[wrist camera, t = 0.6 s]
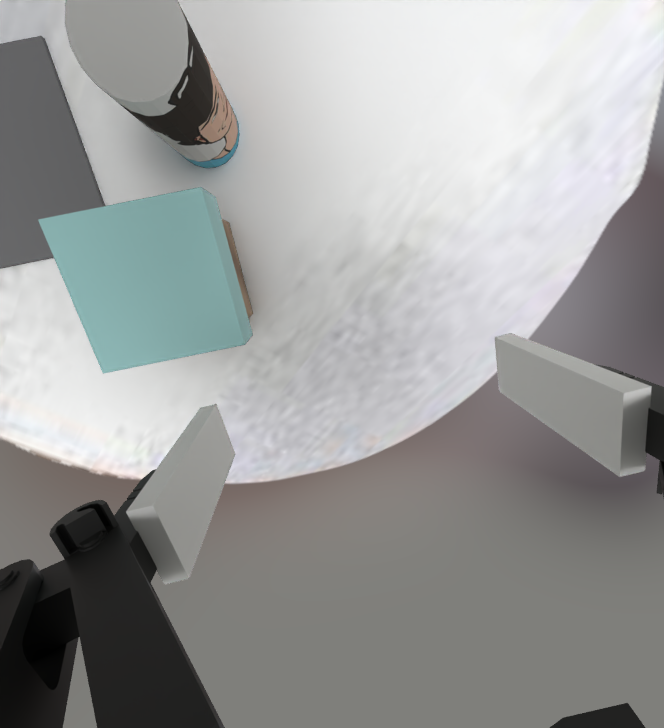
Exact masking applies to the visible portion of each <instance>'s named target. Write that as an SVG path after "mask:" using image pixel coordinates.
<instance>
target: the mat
mask: <svg viewBox="0 0 664 728" xmlns="http://www.w3.org/2000/svg"><path fill="white" fill-rule="evenodd" d="M104 206H105V204H104V202H103V199H102V196H101V193H100V191H99V188H98V185H97V182H96V180H95V177H94V174H93V171H92V169H91V166H90V163H89V160H88V158H87V155H86V152H85V149H84V147H83V144H82V141H81V138H80V136H79V133H78V130H77V127H76V124H75V122H74V119H73V116H72V113H71V111H70V108H69V105H68V102H67V100H66V97H65V94H64V91H63V89H62V86H61V83H60V80H59V78H58V75H57V72H56V69H55V67H54V64H53V61H52V58H51V56H50V53H49V50H48V47H47V45H46V42H45V39H44V38H43V37H42V36H38V37H33V38H28V39H23V40H18V41H13V42H8V43H3V44H0V268H4V267H9V266H14V265H19V264H24V263H29V262H34V261H39V260H44V259H49V258H54V256H53V254H52V252H51V249H50V247H49V244H48V242H47V240H46V237H45V235H44V233H43V230H42V228H41V226H40V223H39V221H38V220H39V219H44V218H49V217H54V216H59V215H64V214H69V213H74V212H79V211H84V210H89V209H94V208H99V207H104Z"/></svg>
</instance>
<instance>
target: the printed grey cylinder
mask: <svg viewBox="0 0 664 728" xmlns="http://www.w3.org/2000/svg"><path fill="white" fill-rule="evenodd" d="M65 26H66V30H67V34H68V38H69V42H70V47H71V49H72V50H73V52H74V54H75V56H76V58H77V60H78V62H79V64H80V66H81V68H82V69H83V70H84V71H85V72H86V74H87V75H88V76H89V77H90V78H91V79H92V80H93V82H94V83H95V84H96V85H97V86H98V87H100V88H101V89H102V90H103V91H105V92H106V93H107V94H108V95H109V96H111V97H112V98H113V99H114V100H115V101H117V102H118V103H119V104H120V105H121V106H123V107H124V108H125V109H126V110H127V111H129V112H130V113H131V114H132V115H134V116H135V117H136V118H137V119H138V120H140V121H141V122H142V123H143V124H144V125H146V126H147V127H148V128H149V129H150V130H152V131H153V132H154V133H155V134H157V135H158V136H159V137H160V138H161V139H163V140H164V141H165V142H166V143H167V144H169V145H170V146H171V147H172V148H173V149H175V150H176V151H177V152H178V153H180V154H181V155H182V156H183V157H184V158H186V159H187V160H189V161H190V162H192V163H193V164H195V165H197V166H201V167H204V168H212V167H218V166H220V165H222V164H225V163H226V162H227V161H228V160H229V159H230V158H231V157H232V156H233V154H234V152H235V150H236V148H237V146H238V140H239V127H238V121H237V119H236V116H235V114H234V112H233V109H232V107H231V105H230V103H229V101H228V99H227V98H226V96H225V94H224V92H223V90H222V88H221V86H220V84H219V82H218V80H217V78H216V76H215V74H214V72H213V70H212V68H211V66H210V64H209V62H208V60H207V58H206V56H205V54H204V52H203V50H202V48H201V46H200V44H199V42H198V40H197V38H196V36H195V34H194V32H193V30H192V28H191V27H190V25H189V23H188V21H187V19H186V17H185V15H184V13H183V11H182V9H181V7H180V5H179V3H178V1H177V0H66V3H65Z"/></svg>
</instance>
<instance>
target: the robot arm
mask: <svg viewBox="0 0 664 728" xmlns="http://www.w3.org/2000/svg"><path fill="white" fill-rule="evenodd" d="M495 347H496V360H497V372H498V385H499V392H501V393H502V394H504V395H505V396H507V397H508V398H509V399H511V400H512V401H513V402H515V403H516V404H518V405H519V406H521V407H522V408H523V409H525V410H526V411H528V412H529V413H531V414H532V415H533V416H535V417H536V418H537V419H539V420H540V421H542V422H543V423H544V424H546V425H547V426H549V427H550V428H552V429H553V430H554V431H556V432H557V433H559V434H560V435H561V436H563V437H565V438H566V439H567V440H568V441H570V442H571V443H573V444H574V445H576V446H577V447H578V448H580V449H581V450H583V451H584V452H585V453H587V454H588V455H590V456H591V457H592V458H594V459H595V460H597V461H598V462H599V463H601V464H602V465H604V466H605V467H607V468H608V469H609V470H611V471H612V472H614V473H615V474H616V475H618V476H619V477H621V476H625V475H630V474H634V473H637V472H642V471H645V465H646V453H649V454H650V455H652V456H654V457H655V458H657V459H659V460H660V463H659V473H658V485H657V493H659V494H662V493H663V497H664V387H662V386H659V385H656V384H654V383H651V382H649V381H646V380H643V379H640V378H638V377H637V378H635V376H632V375H629V374H627V373H625V374H624V373H623V372H621V371H619V370H616V369H613V368H610V367H606V366H600V365H595V364H591V363H588V362H586V361H583V360H581V359H578V358H575V357H573V356H570V355H567V354H565V353H562V352H559V351H557V350H554V349H552V348H549V347H546V346H544V345H541V344H538V343H536V342H533V341H531V340H528V339H525V338H523V337H520V336H517V335H515V334H512V333H509V334H505V335H501V336H497V337H495ZM234 457H235V452H234V449H233V447H232V444H231V441H230V439H229V436H228V433H227V431H226V428H225V425H224V423H223V420H222V417H221V415H220V412H219V409H218V407H217V404H215V405H211V406H206V407H202V408H200V409H199V411H198V412H197V413H196V415H195V416H194V418H193V419H192V420H191V422H190V423H189V425H188V426H187V427H186V429H185V430H184V432H183V433H182V434H181V436H180V437H179V439H178V440H177V441H176V443H175V444H174V445H173V447H172V448H171V450H170V451H169V452H168V454H167V455H166V457H165V458H164V459H163V461H162V462H161V464H160V465H159V466H158V468H157V469H156V470H152V471H151V472H150V473H149V474H148V475H146V476H145V477H144V478H143V479H142V480H141V481H140V482H139V484H138V485H137V486H136V487H135V489H134V490H133V492H132V493H131V494H130V495H129V497H128V498H127V501H125V502H124V503H123V505H122V506H121V507H120V509H119V510H118V511H117V513H116V514H115V515H113V513H112V512H111V510H110V508H109V506H108V504H107V503H106V502H105V501H103V500H98V501H93V502H89V503H87V504H84V505H82V506H80V507H78V508H76V509H74V510H73V511H71V512H69V513H68V514H66V515H65V516H64V517H63V518H61V519H60V520H59V521H58V522H57V523H56V524H55V525H54V526H53V528H52V529H51V531H50V537H51V538H52V540H53V541H54V543H55V544H56V546H57V547H58V549H59V551H60V552H61V554H62V555H63V557H64V559H65V560H63V561H60V562H58V563H56V564H54V565H51V566H49V567H47V568H45V569H42V570H41V571H39V569H38V568H37V566H36V565H35V563H34V562H33V561H31V560H21V561H19V562H16V563H13V564H11V565H9V566H7V567H5V568H4V569H1V570H0V728H63V722H64V716H65V711H66V705H67V700H68V694H69V688H70V682H71V677H72V671H73V665H74V659H75V654H76V648H77V642H78V637H80V640H81V646H82V651H83V656H84V661H85V666H86V672H87V676H88V682H89V687H90V692H91V697H92V703H93V707H94V713H95V718H96V723H97V728H225V727H224V726H223V724H222V722H221V719H220V718H219V716H218V714H217V712H216V710H215V708H214V706H213V704H212V702H211V700H210V698H209V696H208V694H207V692H206V690H205V688H204V686H203V684H202V683H201V680H200V678H199V677H198V675H197V673H196V671H195V669H194V667H193V665H192V663H191V661H190V659H189V657H188V655H187V653H186V651H185V649H184V647H183V645H182V643H181V641H180V640H179V637H178V635H177V633H176V631H175V630H174V628H173V626H172V624H171V622H170V620H169V618H168V616H167V614H166V612H165V610H164V608H163V606H162V604H161V602H160V600H159V598H158V596H157V594H156V592H155V591H154V589H153V587H152V585H151V583H150V582H151V580H152V578H153V576H154V574H155V572H156V570H157V572H158V574H159V575H160V577H161V579H162V581H163V583H164V584H169V583H173V582H177V581H181V580H185V579H189V578H190V575H191V572H192V570H193V567H194V564H195V561H196V559H197V556H198V553H199V551H200V548H201V545H202V543H203V540H204V537H205V535H206V532H207V529H208V527H209V524H210V521H211V518H212V516H213V513H214V510H215V508H216V505H217V502H218V500H219V497H220V494H221V492H222V489H223V486H224V483H225V481H226V478H227V475H228V473H229V470H230V467H231V465H232V462H233V459H234ZM550 728H645V727H644V725H643V724H642V722H641V721H640V720H639V718H638V717H637V715H636V714H635V713H634V711H633V710H632V708H631V707H630V706H629V704H628V703H625V704H621V705H617V706H612V707H608V708H603V709H599V710H595V711H591V712H586V713H582V714H577V715H574V716H569V717H565V718H562V719H561V720H560V721H558V722H557V723H556V724H554V725H553V726H551V727H550Z"/></svg>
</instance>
